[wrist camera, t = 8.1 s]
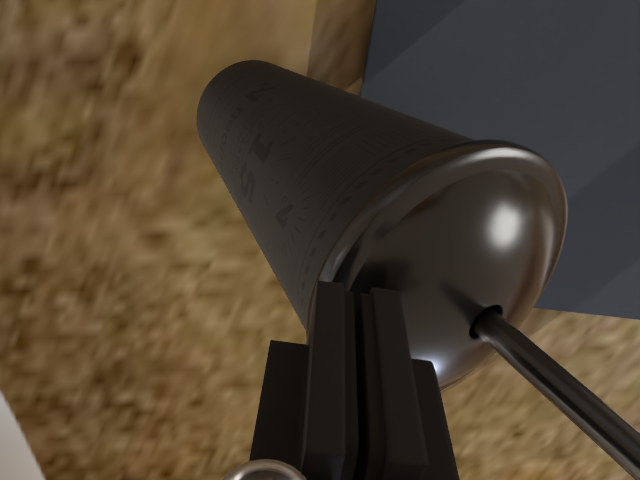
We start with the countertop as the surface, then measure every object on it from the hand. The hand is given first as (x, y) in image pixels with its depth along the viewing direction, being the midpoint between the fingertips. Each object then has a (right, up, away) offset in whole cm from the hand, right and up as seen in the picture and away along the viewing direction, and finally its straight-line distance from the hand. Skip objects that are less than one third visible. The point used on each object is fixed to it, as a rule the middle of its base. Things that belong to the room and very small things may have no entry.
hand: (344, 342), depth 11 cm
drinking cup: (-4, +8, +12) cm, 15 cm away
